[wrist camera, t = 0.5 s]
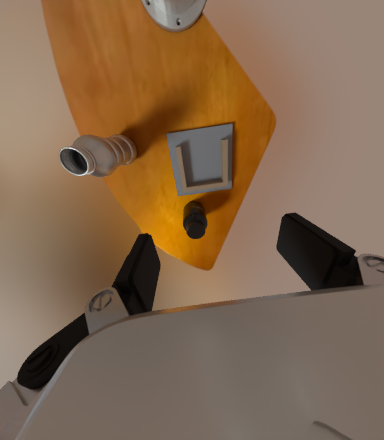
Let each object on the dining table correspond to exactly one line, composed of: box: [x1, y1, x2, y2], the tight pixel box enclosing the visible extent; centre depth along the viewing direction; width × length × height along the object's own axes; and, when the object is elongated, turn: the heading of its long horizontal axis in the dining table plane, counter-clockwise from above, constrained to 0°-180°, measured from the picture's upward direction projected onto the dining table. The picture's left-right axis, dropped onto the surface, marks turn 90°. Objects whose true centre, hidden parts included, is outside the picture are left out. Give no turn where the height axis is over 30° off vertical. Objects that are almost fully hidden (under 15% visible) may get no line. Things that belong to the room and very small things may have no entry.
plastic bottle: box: [59, 134, 137, 177], centre depth 28 cm, size 6×7×20 cm
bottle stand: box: [166, 124, 233, 196], centre depth 37 cm, size 16×16×4 cm
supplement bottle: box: [183, 202, 207, 239], centre depth 41 cm, size 7×7×12 cm
